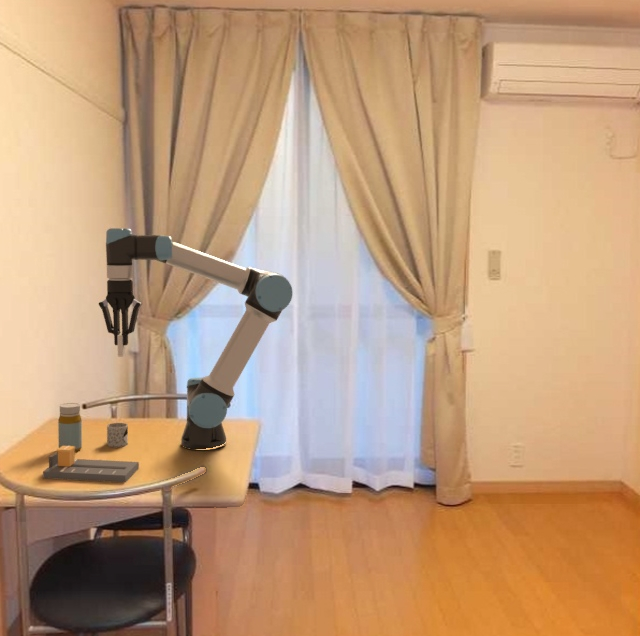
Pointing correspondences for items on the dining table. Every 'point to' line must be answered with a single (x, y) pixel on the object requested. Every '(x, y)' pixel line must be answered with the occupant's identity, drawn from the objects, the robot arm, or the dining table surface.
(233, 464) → the dining table surface
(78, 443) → the bottle
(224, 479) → the dining table surface
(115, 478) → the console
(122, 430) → the mug
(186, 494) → the dining table surface
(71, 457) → the fader
